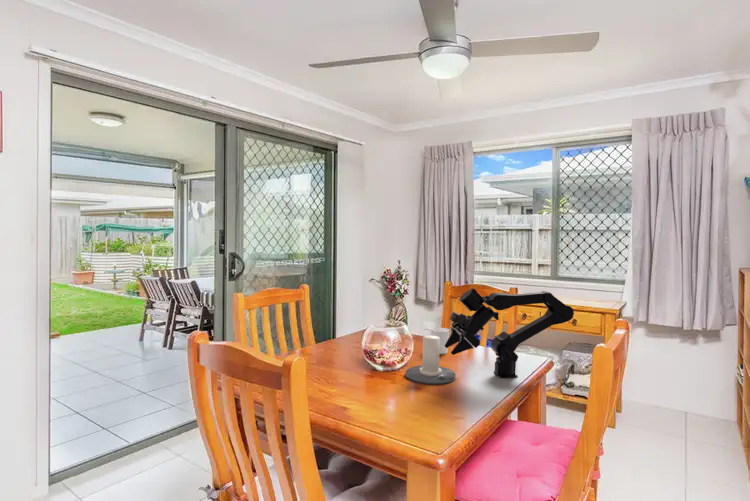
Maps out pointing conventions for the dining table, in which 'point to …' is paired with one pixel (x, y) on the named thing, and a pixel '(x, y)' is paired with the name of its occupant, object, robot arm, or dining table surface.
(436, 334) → the white cup
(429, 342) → the white flanged cylinder
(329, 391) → the dining table surface
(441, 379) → the hub plate
